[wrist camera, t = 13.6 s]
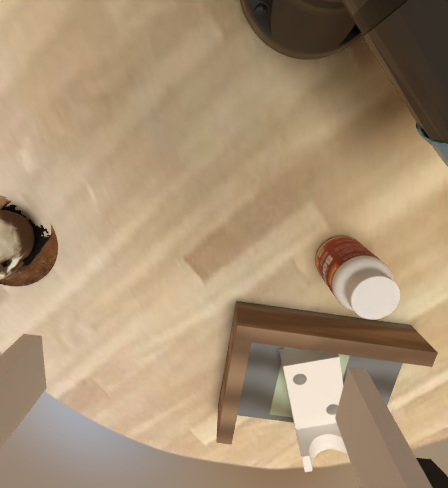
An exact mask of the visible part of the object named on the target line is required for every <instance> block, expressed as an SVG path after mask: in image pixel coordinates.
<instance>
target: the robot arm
mask: <svg viewBox="0 0 448 488" xmlns="http://www.w3.org/2000/svg"><path fill="white" fill-rule="evenodd" d="M240 1H241V4H242V8H243V10H244V13H245V15H246V18H247V20H248V22H249V23H250V25H251V27H252V28H253V30H254V31H255V33H256V34H257V35H258V36H259V37H260V38H261V39H262V40H263V41H264V42H265V43H266V44H267V45H268V46H270V47H271V48H272V49H274V50H276V51H277V52H279V53H281V54H284V55H286V56H289V57H293V58H298V59H316V58H322V57H326V56H329V55H332V54H334V53H336V52H338V51H340V50H342V49H344V48H345V47H347V46H348V45H350V44H351V43H352V42H354V41H355V40H356V39H357V38H359V37H360V36H361V35H363V38H364V39H365V41H366V42H367V44H368V46H369V47H370V49H371V50H372V52H373V54H374V55H375V57H376V58H377V60H378V61H379V63H380V65H381V66H382V68H383V69H384V71H385V73H386V74H387V76H388V77H389V79H390V81H391V82H392V84H393V85H394V87H395V88H396V90H397V92H398V93H399V95H400V96H401V98H402V100H403V101H404V103H405V104H406V106H407V108H408V109H409V111H410V112H411V114H412V116H413V117H414V119H415V120H416V128H417V130H418V132H419V133H420V135H421V136H422V137H423V138H424V139H425V140H427V141H428V142H429V143H430V144H431V145H432V146H433V147H434V149H435V150H436V152H437V153H438V155H439V156H440V157H441V159H442V160H443V161H444V163H445V164H446V165H447V166H448V0H240ZM45 389H46V378H45V368H44V357H43V346H42V336H37V335H27V334H23V335H22V336H21V337H20V338H19V339H18V340H17V341H16V342H15V343H14V344H13V345H11V346H10V347H9V348H8V349H7V350H6V351H5V352H4V353H3V354H2V355H1V356H0V449H1V448H2V446H3V445H4V444H5V443H6V441H7V440H8V438H9V437H10V436H11V435H12V433H13V432H14V431H15V429H16V428H17V427H18V425H19V424H20V422H21V421H22V420H23V419H24V417H25V416H26V415H27V413H28V412H29V411H30V409H31V408H32V407H33V405H34V404H35V403H36V401H37V400H38V398H39V397H40V396H41V395H42V393H43V392H44V391H45ZM335 419H336V422H337V425H338V428H339V431H340V433H341V436H342V439H343V442H344V445H345V447H346V450H347V453H348V456H349V459H350V462H351V464H352V467H353V470H354V472H355V476H356V478H357V481H358V484H359V487H360V488H448V477H447V476H446V474H445V473H444V472H443V471H442V470H441V469H440V468H439V467H437V465H436V464H435V463H434V462H433V461H432V460H431V459H422V458H416V457H415V455H414V454H413V452H412V450H411V448H410V447H409V445H408V443H407V441H406V439H405V438H404V436H403V434H402V432H401V431H400V429H399V427H398V425H397V423H396V422H395V420H394V418H393V416H392V415H391V413H390V411H389V409H388V407H387V406H386V404H385V402H384V400H383V399H382V397H381V395H380V393H379V391H378V390H377V388H376V386H375V384H374V383H373V381H372V379H371V377H370V375H369V374H368V372H367V370H365V369H355V368H348V371H347V375H346V379H345V382H344V386H343V390H342V394H341V397H340V401H339V405H338V409H337V412H336V416H335Z"/></svg>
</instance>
